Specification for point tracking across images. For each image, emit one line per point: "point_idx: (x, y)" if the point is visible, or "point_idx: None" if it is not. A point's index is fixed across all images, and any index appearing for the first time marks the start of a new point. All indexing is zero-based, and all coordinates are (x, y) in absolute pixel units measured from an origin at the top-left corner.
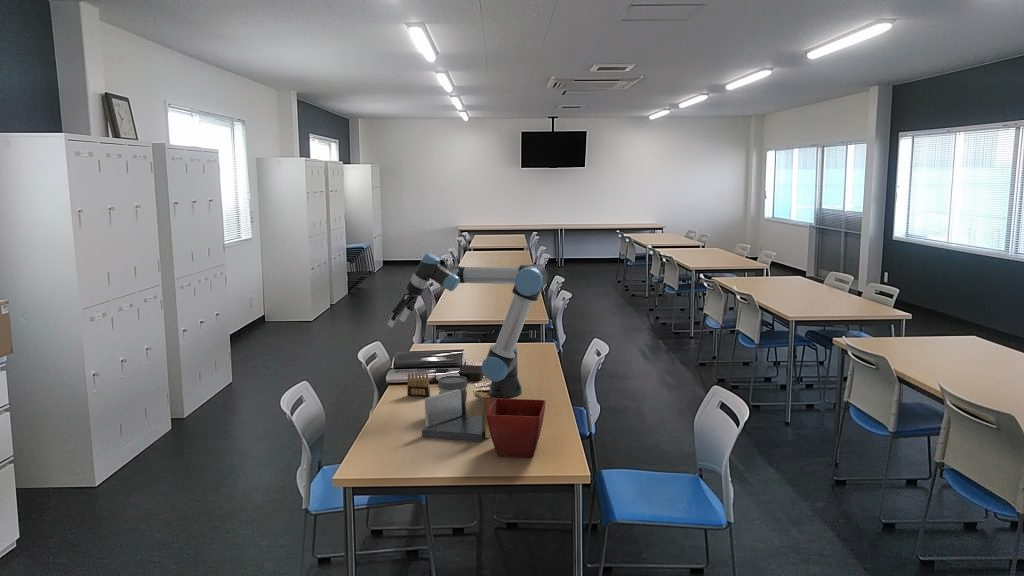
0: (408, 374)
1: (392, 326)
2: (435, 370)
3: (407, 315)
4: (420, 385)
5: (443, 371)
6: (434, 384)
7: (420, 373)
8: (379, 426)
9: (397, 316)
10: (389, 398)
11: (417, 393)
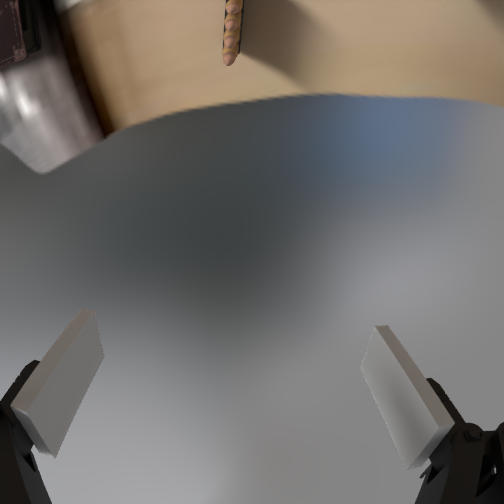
0: (233, 61)
1: (392, 332)
2: (10, 62)
3: (54, 361)
4: (241, 2)
5: (10, 32)
6: (81, 18)
7: (233, 6)
8: (494, 90)
9: (444, 416)
10: (267, 96)
11: (240, 12)
